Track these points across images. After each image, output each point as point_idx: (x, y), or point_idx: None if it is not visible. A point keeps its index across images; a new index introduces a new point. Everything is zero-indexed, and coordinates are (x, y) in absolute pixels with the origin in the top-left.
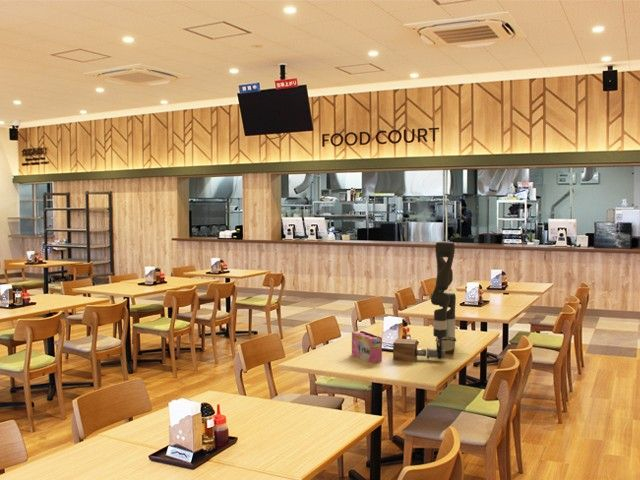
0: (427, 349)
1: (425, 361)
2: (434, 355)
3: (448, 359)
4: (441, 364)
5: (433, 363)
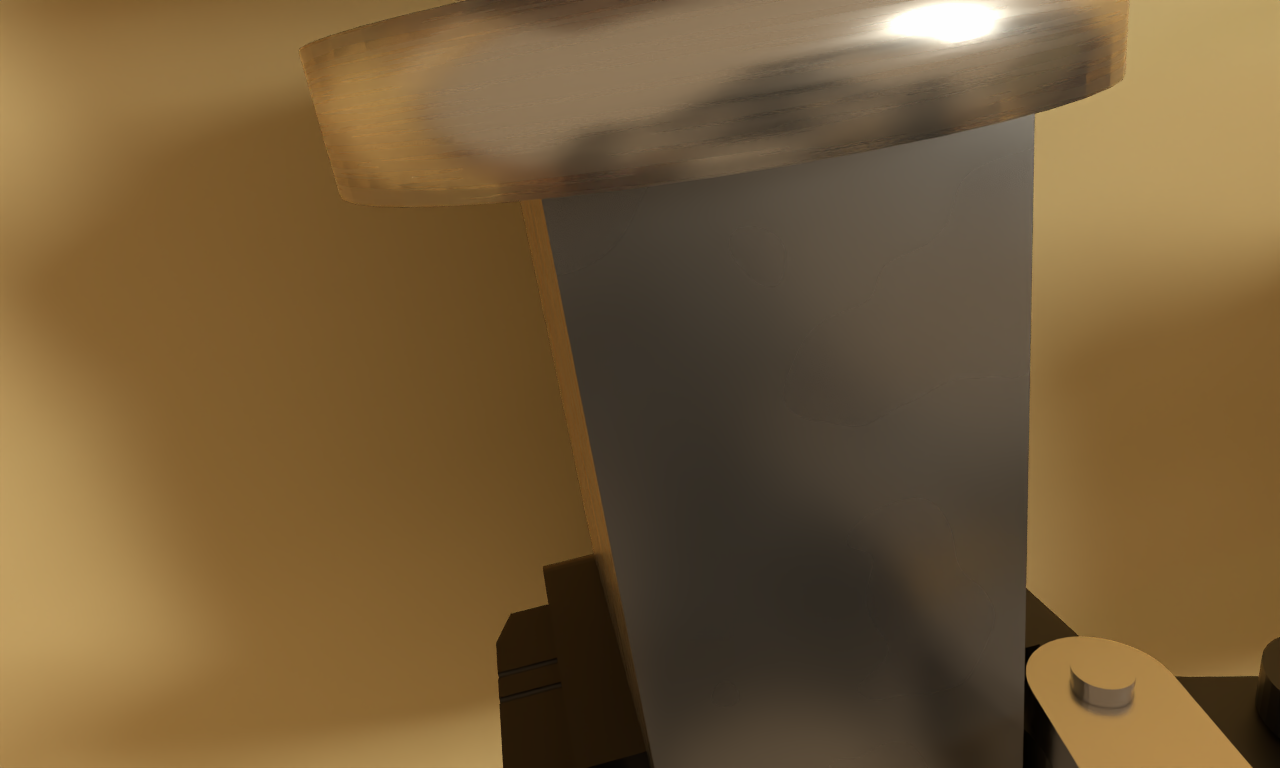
0: (476, 80)
1: (269, 37)
2: (580, 471)
3: None
4: (166, 755)
5: (125, 475)
